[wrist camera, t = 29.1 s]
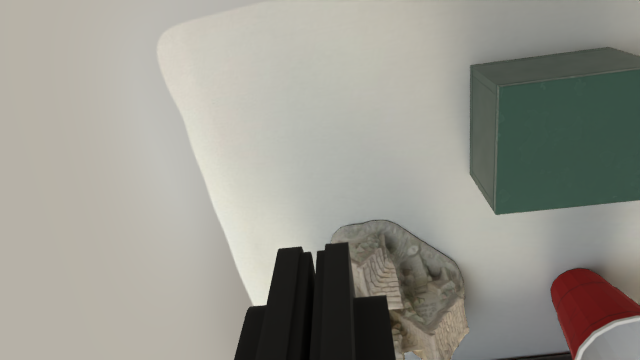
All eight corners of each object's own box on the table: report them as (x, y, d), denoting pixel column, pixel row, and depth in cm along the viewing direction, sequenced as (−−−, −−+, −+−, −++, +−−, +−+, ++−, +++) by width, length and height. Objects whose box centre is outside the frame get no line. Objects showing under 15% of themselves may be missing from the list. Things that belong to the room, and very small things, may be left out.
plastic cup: (630, 243, 51) (710, 319, 40) (615, 317, 55) (683, 403, 44) (531, 251, 52) (583, 328, 41) (524, 323, 56) (569, 409, 45)
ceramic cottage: (462, 323, 56) (496, 430, 42) (331, 324, 58) (323, 428, 44) (467, 211, 50) (509, 293, 36) (322, 216, 52) (309, 296, 38)
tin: (609, 46, 42) (664, 63, 34) (593, 161, 46) (639, 196, 39) (470, 65, 43) (496, 84, 36) (469, 174, 48) (492, 211, 41)
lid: (672, 62, 34) (679, 64, 34) (647, 195, 39) (652, 199, 39) (496, 85, 36) (499, 87, 35) (493, 211, 41) (495, 215, 40)
